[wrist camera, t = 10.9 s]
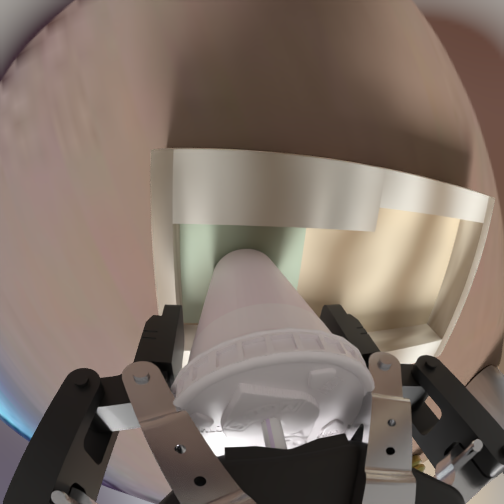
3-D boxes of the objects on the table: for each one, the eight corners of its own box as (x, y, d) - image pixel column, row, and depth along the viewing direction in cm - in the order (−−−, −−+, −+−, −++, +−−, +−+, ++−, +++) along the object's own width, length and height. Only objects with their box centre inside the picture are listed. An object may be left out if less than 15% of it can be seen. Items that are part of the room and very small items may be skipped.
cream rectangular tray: (462, 186, 17) (495, 198, 14) (419, 332, 22) (439, 355, 19) (166, 147, 14) (151, 149, 11) (174, 349, 19) (169, 385, 16)
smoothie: (274, 204, 14) (476, 473, 2) (313, 297, 17) (426, 510, 4) (167, 256, 15) (93, 545, 2) (221, 338, 17) (242, 564, 4)
